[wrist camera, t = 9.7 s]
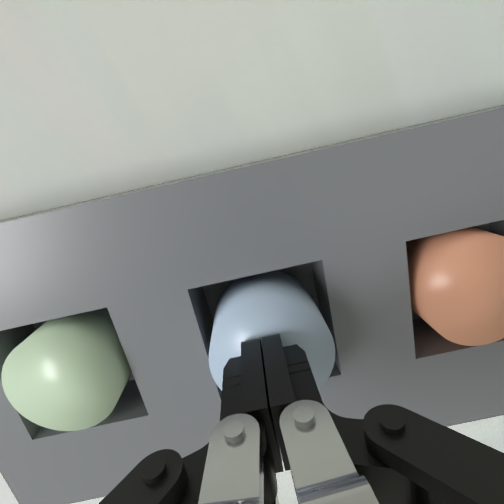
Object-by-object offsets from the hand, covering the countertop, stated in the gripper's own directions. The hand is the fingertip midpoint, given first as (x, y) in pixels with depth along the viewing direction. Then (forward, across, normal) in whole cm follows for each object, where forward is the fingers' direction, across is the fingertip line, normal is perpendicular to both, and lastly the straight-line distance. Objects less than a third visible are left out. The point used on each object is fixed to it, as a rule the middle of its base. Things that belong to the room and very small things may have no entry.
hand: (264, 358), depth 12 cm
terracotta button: (+4, -9, 0) cm, 10 cm away
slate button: (+3, 0, 0) cm, 3 cm away
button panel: (+6, 0, 0) cm, 6 cm away
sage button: (+4, +9, 0) cm, 10 cm away
